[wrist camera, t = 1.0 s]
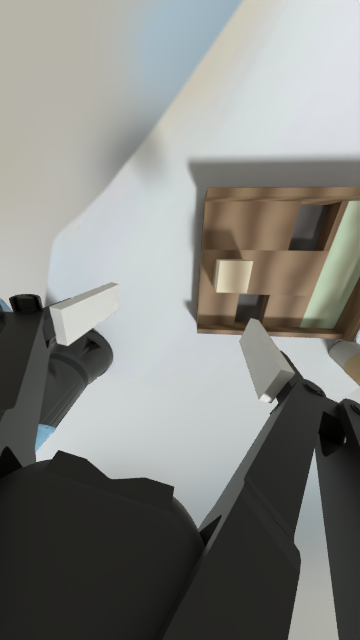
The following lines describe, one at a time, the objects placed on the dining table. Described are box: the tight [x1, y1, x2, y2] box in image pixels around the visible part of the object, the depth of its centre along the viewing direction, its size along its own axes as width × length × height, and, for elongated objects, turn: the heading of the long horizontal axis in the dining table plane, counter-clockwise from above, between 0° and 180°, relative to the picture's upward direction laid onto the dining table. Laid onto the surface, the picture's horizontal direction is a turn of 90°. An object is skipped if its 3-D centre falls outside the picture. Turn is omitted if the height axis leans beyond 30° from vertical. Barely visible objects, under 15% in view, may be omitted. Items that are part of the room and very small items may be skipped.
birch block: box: [212, 259, 253, 293], centre depth 26 cm, size 5×5×5 cm
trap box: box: [197, 187, 360, 342], centre depth 28 cm, size 30×24×6 cm
